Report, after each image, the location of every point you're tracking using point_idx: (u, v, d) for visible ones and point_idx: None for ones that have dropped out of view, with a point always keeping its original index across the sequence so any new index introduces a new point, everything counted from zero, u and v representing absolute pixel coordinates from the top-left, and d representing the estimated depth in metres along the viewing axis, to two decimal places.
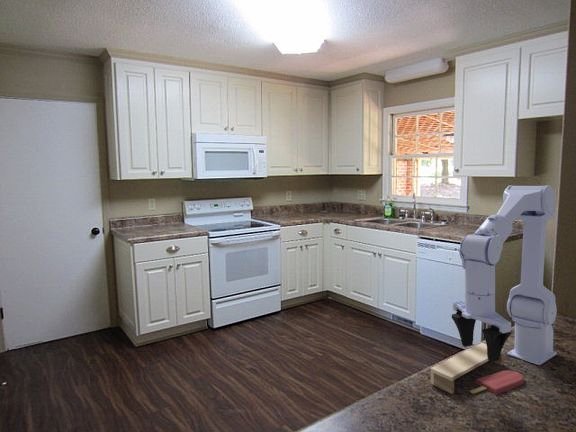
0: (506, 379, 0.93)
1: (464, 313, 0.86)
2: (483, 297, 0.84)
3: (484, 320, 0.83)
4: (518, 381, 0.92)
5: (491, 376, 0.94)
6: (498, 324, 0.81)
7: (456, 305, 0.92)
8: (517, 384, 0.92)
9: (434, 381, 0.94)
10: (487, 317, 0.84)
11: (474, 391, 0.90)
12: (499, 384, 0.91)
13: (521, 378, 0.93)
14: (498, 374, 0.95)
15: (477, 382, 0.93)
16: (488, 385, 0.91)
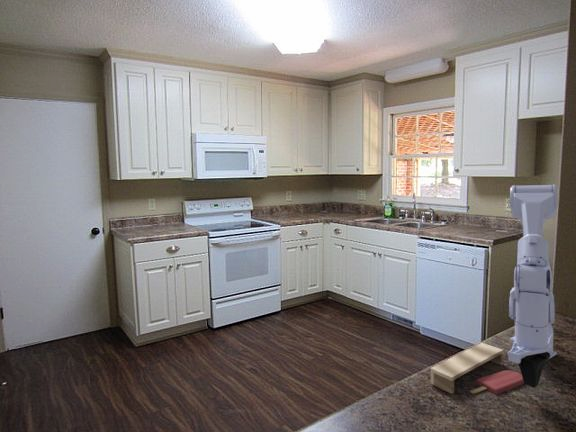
0: (506, 379, 0.93)
1: (515, 337, 0.88)
2: (518, 325, 0.84)
3: None
4: (518, 381, 0.92)
5: (491, 376, 0.94)
6: None
7: None
8: (517, 384, 0.92)
9: (434, 381, 0.94)
10: (520, 346, 0.84)
11: (474, 391, 0.90)
12: (500, 384, 0.91)
13: (521, 378, 0.93)
14: (498, 374, 0.95)
15: (477, 382, 0.93)
16: (488, 385, 0.91)
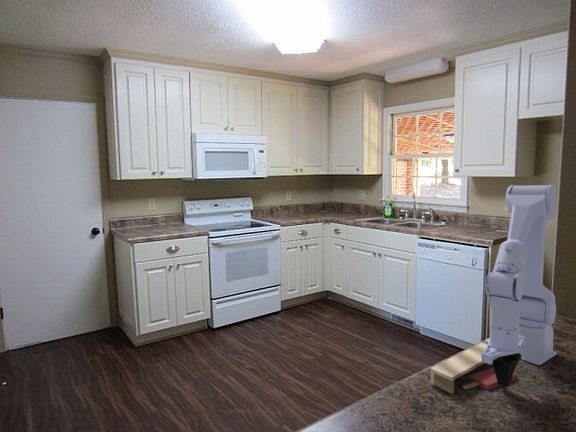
0: None
1: (489, 339, 0.93)
2: (492, 328, 0.89)
3: None
4: None
5: (484, 372, 0.96)
6: None
7: None
8: None
9: (434, 381, 0.94)
10: (493, 348, 0.89)
11: (466, 386, 0.92)
12: (492, 380, 0.93)
13: (513, 374, 0.95)
14: (490, 370, 0.97)
15: (470, 378, 0.95)
16: (480, 381, 0.93)
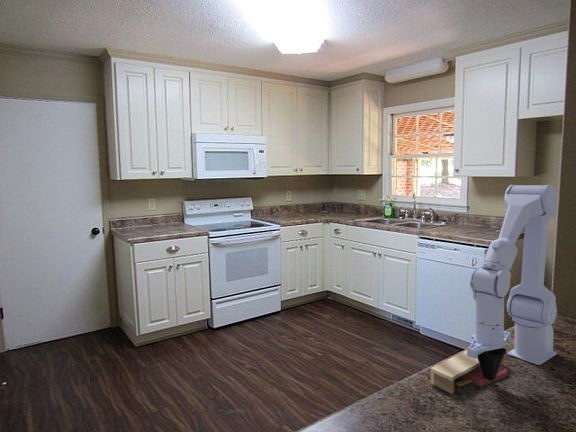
0: None
1: (475, 334, 0.96)
2: (477, 324, 0.92)
3: None
4: (502, 373, 0.96)
5: (476, 369, 0.98)
6: None
7: None
8: (501, 376, 0.95)
9: (434, 381, 0.94)
10: (478, 343, 0.92)
11: (460, 384, 0.93)
12: None
13: (505, 371, 0.97)
14: None
15: (463, 375, 0.97)
16: (473, 378, 0.94)
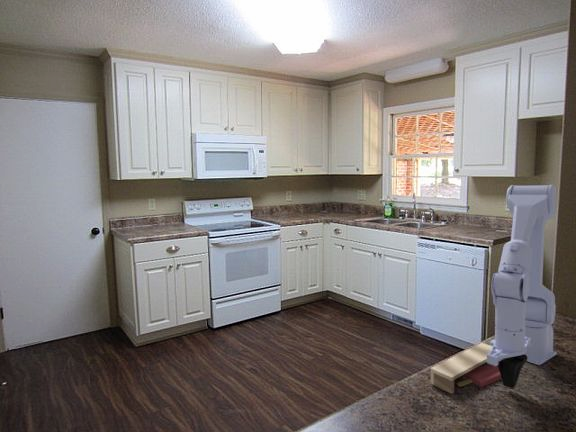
0: (491, 372, 0.96)
1: (494, 340, 0.92)
2: (497, 329, 0.88)
3: (492, 349, 0.89)
4: None
5: (477, 369, 0.98)
6: None
7: None
8: None
9: (434, 381, 0.94)
10: (498, 349, 0.88)
11: (461, 384, 0.93)
12: (485, 377, 0.94)
13: None
14: (483, 367, 0.98)
15: (463, 375, 0.96)
16: (474, 378, 0.94)
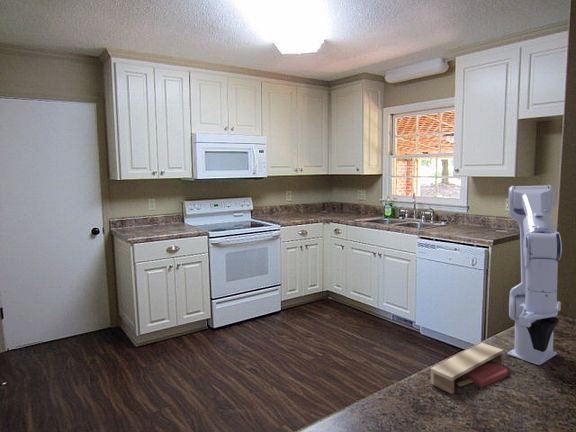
0: (491, 372, 0.96)
1: (524, 304, 0.91)
2: (528, 291, 0.87)
3: (522, 312, 0.87)
4: (502, 373, 0.95)
5: (477, 369, 0.98)
6: None
7: None
8: (501, 376, 0.95)
9: (434, 381, 0.94)
10: (530, 311, 0.86)
11: (461, 384, 0.93)
12: (485, 376, 0.94)
13: (505, 371, 0.96)
14: (483, 367, 0.99)
15: (463, 375, 0.97)
16: (474, 378, 0.94)
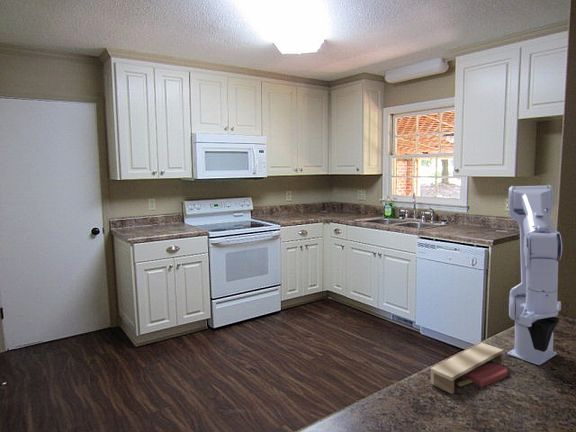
0: (491, 372, 0.96)
1: (524, 304, 0.91)
2: (529, 291, 0.87)
3: (523, 311, 0.87)
4: (502, 373, 0.95)
5: (477, 369, 0.98)
6: None
7: None
8: (501, 376, 0.95)
9: (434, 381, 0.94)
10: (530, 311, 0.86)
11: (461, 384, 0.93)
12: (485, 376, 0.94)
13: (505, 370, 0.96)
14: (483, 367, 0.99)
15: (463, 375, 0.97)
16: (474, 378, 0.94)
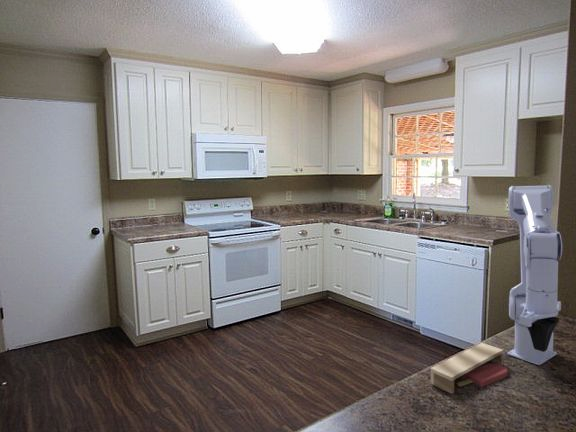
0: (491, 372, 0.96)
1: (524, 304, 0.91)
2: (529, 291, 0.87)
3: (523, 311, 0.87)
4: (502, 373, 0.96)
5: (477, 369, 0.98)
6: None
7: None
8: (501, 376, 0.95)
9: (434, 381, 0.94)
10: (530, 311, 0.86)
11: (461, 384, 0.93)
12: (485, 376, 0.94)
13: (505, 370, 0.96)
14: (483, 367, 0.99)
15: (463, 375, 0.97)
16: (474, 378, 0.94)
